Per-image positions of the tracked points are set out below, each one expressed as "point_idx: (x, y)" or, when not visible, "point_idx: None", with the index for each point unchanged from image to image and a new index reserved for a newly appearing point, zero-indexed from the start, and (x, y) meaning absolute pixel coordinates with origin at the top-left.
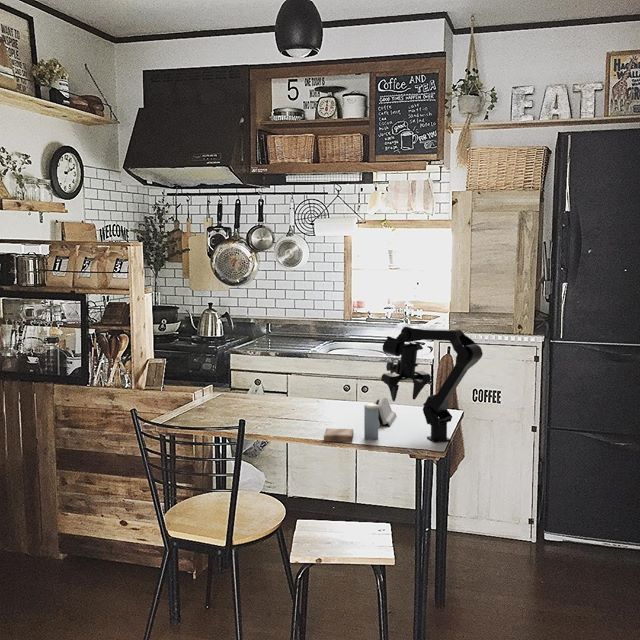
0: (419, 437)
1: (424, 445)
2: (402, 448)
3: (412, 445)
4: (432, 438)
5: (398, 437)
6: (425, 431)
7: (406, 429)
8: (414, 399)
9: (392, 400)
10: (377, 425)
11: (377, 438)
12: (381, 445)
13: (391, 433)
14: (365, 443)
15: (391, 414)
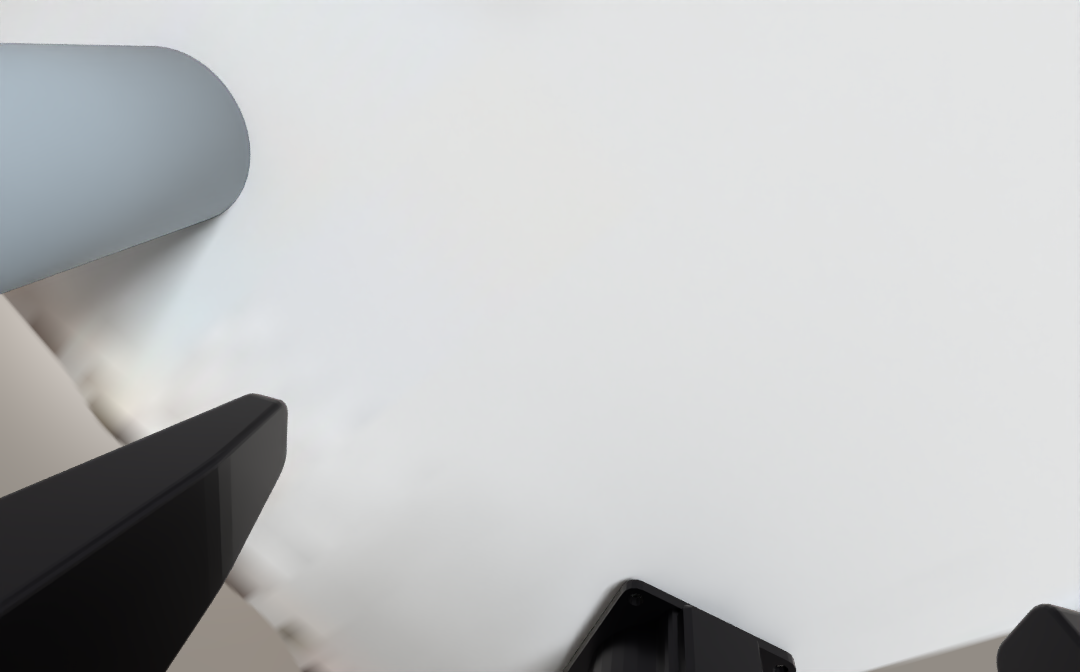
0: (604, 506)
1: (422, 660)
2: None
3: (340, 593)
4: (588, 668)
5: (434, 349)
6: (886, 421)
7: (817, 183)
8: (1007, 656)
9: (252, 401)
10: (82, 264)
11: (204, 220)
12: (109, 402)
13: (502, 174)
14: None
15: None
